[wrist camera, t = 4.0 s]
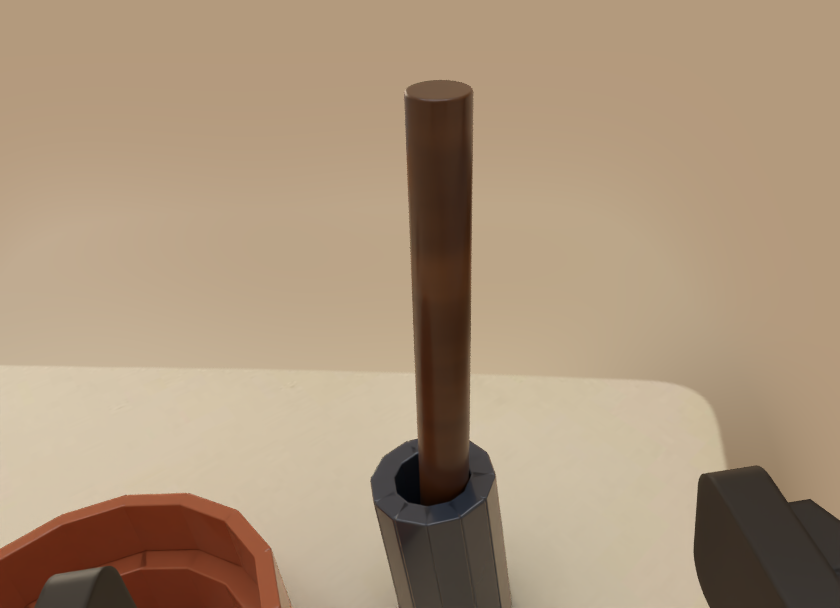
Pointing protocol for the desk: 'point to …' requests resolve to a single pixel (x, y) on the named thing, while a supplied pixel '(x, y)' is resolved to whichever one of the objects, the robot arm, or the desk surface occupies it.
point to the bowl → (150, 554)
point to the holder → (442, 535)
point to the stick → (441, 278)
